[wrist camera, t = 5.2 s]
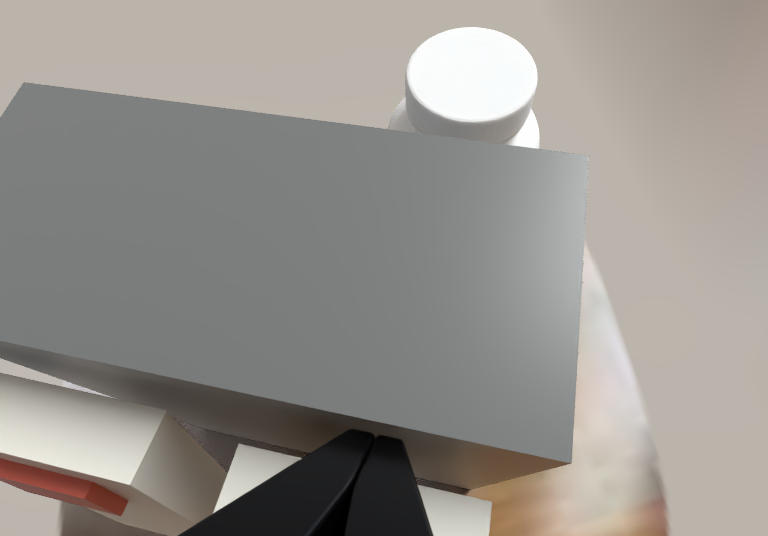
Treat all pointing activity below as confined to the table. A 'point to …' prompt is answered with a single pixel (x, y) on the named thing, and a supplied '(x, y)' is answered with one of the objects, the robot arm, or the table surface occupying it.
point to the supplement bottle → (470, 89)
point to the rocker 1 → (105, 456)
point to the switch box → (297, 276)
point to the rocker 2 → (444, 509)
